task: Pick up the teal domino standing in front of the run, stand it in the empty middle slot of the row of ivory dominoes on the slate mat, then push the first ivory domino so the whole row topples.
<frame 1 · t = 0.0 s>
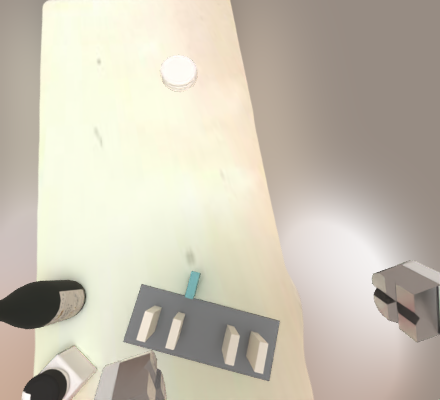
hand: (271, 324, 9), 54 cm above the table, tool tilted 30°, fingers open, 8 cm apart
teal domino: (194, 283, 61), on the table
slate mat: (203, 330, 59), on the table
wine bottle: (69, 298, 59), on the table
ivory domino 4: (178, 324, 58), resting on slate mat
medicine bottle: (73, 371, 55), on the table
ivory domino 1: (252, 344, 58), resting on slate mat
ivory domino 2: (227, 337, 58), resting on slate mat
ivory domino 5: (154, 318, 58), resting on slate mat
coaster: (179, 78, 77), on the table
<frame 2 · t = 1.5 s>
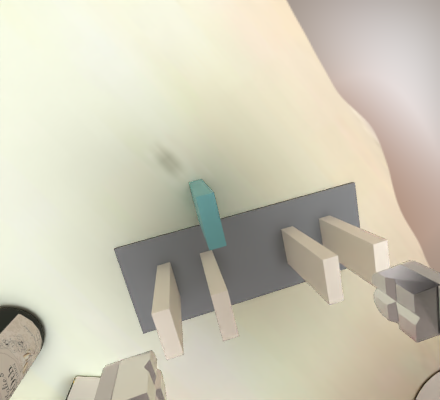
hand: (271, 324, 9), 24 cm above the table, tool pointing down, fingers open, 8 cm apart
teal domino: (200, 200, 33), on the table
slate mat: (250, 255, 36), on the table
wine bottle: (11, 332, 32), on the table
ivory domino 4: (210, 269, 34), resting on slate mat
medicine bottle: (100, 397, 36), on the table
ivory domino 1: (326, 233, 36), resting on slate mat
ivory domino 2: (289, 244, 36), resting on slate mat
ivory domino 5: (169, 281, 34), resting on slate mat
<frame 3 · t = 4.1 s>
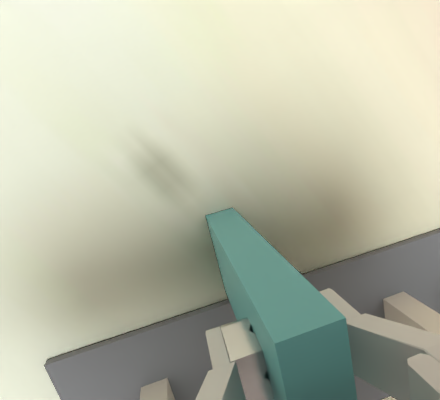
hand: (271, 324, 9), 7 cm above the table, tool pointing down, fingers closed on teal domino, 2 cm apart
teal domino: (229, 251, 16), on the table, touching gripper
slate mat: (321, 348, 18), on the table
ivory domino 2: (395, 325, 19), resting on slate mat
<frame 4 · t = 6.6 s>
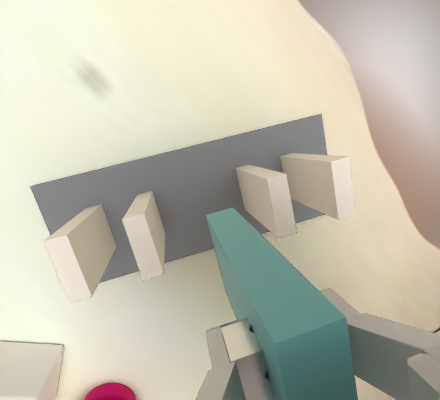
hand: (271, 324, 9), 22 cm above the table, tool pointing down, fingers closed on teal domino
teal domino: (229, 250, 16), point 15 cm above the table, touching gripper
slate mat: (199, 199, 30), on the table
ivory domino 4: (151, 214, 29), resting on slate mat
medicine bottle: (28, 367, 31), on the table
ivory domino 1: (290, 175, 31), resting on slate mat
ivory domino 2: (246, 187, 31), resting on slate mat
ivory domino 5: (101, 227, 29), resting on slate mat
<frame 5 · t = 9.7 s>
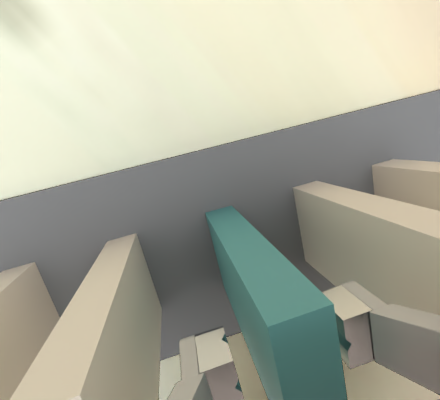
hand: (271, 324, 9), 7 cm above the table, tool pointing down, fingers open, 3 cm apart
teal domino: (227, 247, 16), resting on slate mat
slate mat: (225, 245, 17), on the table
ivory domino 4: (135, 276, 15), resting on slate mat
ivory domino 1: (385, 199, 18), resting on slate mat
ivory domino 2: (310, 221, 17), resting on slate mat
ivory domino 5: (37, 306, 15), resting on slate mat
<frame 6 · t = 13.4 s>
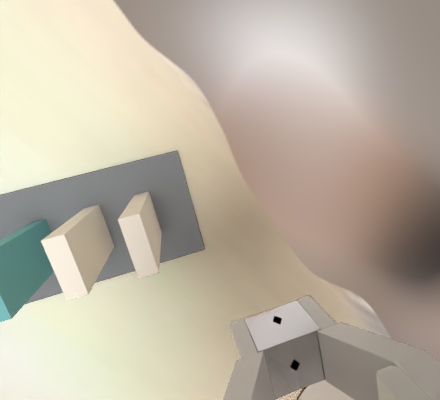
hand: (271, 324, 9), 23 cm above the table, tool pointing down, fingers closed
teal domino: (47, 242, 28), resting on slate mat
slate mat: (48, 241, 29), on the table
ivory domino 1: (148, 214, 30), resting on slate mat
ivory domino 2: (99, 227, 29), resting on slate mat
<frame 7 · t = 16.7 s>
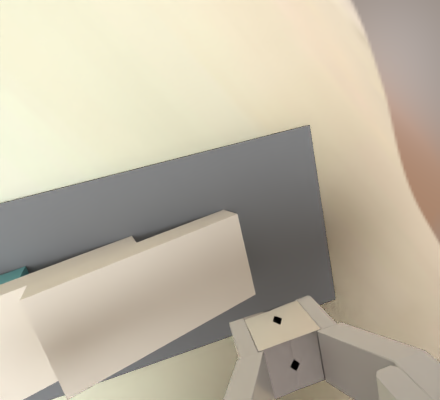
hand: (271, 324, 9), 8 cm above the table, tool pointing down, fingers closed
slate mat: (69, 294, 15), on the table
ivory domino 1: (239, 251, 16), point 1 cm above the table, tilted 73°, touching ivory domino 2
ivory domino 2: (148, 279, 15), point 1 cm above the table, tilted 73°, touching ivory domino 1, slate mat, teal domino
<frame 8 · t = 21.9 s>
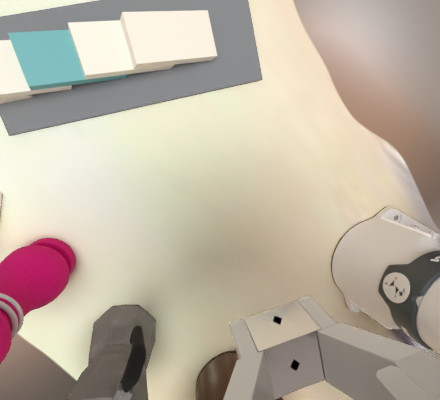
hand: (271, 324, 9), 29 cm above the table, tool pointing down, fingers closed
teal domino: (119, 53, 31), point 1 cm above the table, tilted 73°, touching ivory domino 2, ivory domino 4, slate mat
plant pot: (232, 380, 45), on the table
slate mat: (129, 55, 33), on the table
coffeepot: (128, 323, 40), on the table
ivory domino 4: (63, 64, 30), point 1 cm above the table, tilted 72°, touching ivory domino 5, teal domino
ivory domino 1: (209, 36, 33), point 1 cm above the table, tilted 73°, touching ivory domino 2, slate mat
ivory domino 2: (166, 44, 32), point 1 cm above the table, tilted 73°, touching ivory domino 1, slate mat, teal domino
ivory domino 5: (20, 73, 30), point 1 cm above the table, tilted 90°, touching ivory domino 4, slate mat
pepper mill: (51, 259, 36), on the table
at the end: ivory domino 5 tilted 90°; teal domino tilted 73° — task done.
